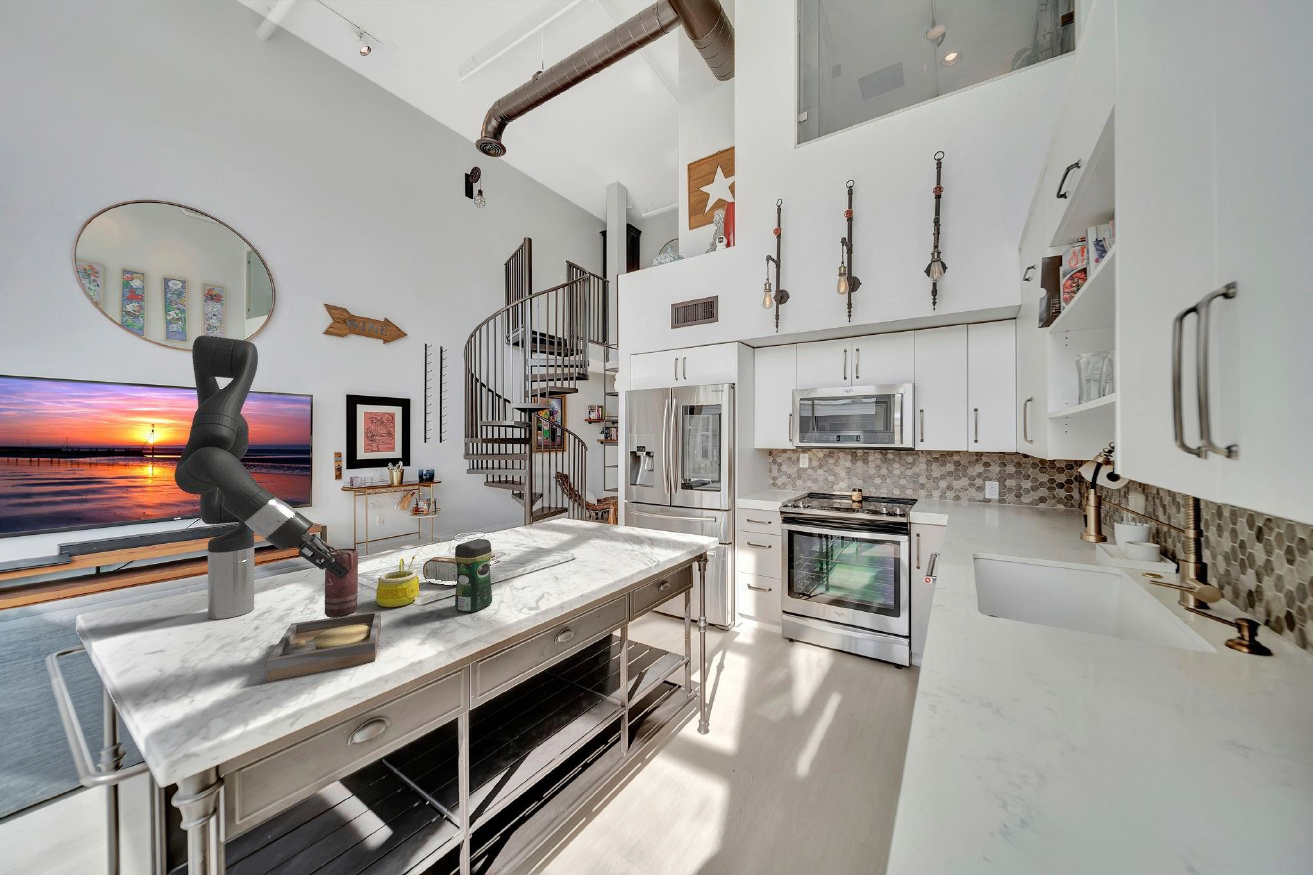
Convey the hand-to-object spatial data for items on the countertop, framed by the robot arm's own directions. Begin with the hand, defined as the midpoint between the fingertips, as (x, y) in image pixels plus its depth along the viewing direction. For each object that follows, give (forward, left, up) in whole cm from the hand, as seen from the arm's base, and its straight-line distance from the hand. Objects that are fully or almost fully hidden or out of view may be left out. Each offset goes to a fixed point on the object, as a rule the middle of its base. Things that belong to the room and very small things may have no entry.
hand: (345, 571), depth 106 cm
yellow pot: (-27, +10, -17) cm, 34 cm away
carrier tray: (+1, -3, -17) cm, 17 cm away
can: (0, -1, -9) cm, 9 cm away
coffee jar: (-13, +28, -17) cm, 36 cm away
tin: (-38, +22, -17) cm, 47 cm away
